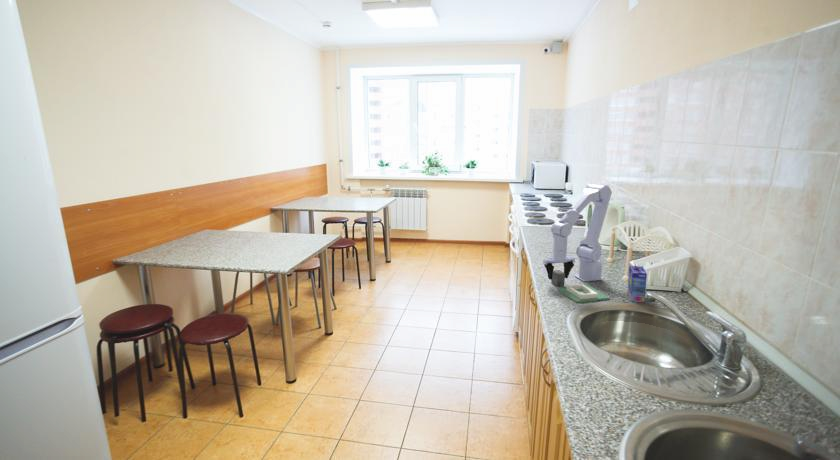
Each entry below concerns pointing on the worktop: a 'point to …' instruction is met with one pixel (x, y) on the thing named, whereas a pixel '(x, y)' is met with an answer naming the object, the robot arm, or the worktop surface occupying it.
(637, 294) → the ink cartridge box
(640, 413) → the worktop surface
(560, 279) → the plug
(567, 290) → the header board
